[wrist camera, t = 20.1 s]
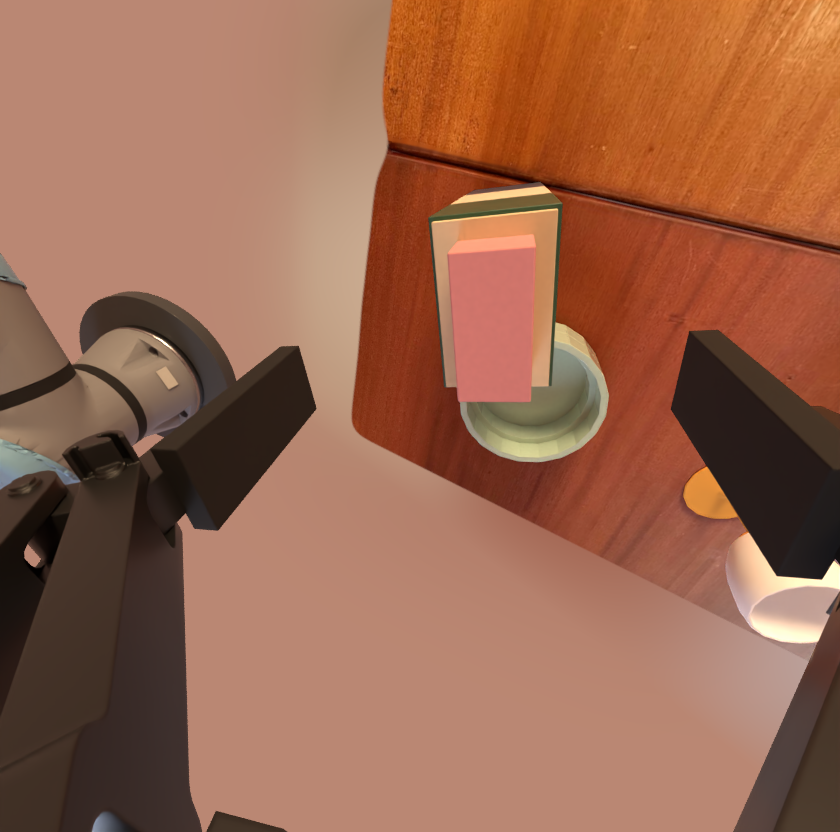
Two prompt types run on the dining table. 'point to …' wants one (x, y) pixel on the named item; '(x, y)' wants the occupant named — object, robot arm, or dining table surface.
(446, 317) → the felt pad
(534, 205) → the book stack
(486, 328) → the eraser
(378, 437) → the dining table surface
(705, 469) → the cup
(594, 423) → the bowl
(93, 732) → the robot arm
